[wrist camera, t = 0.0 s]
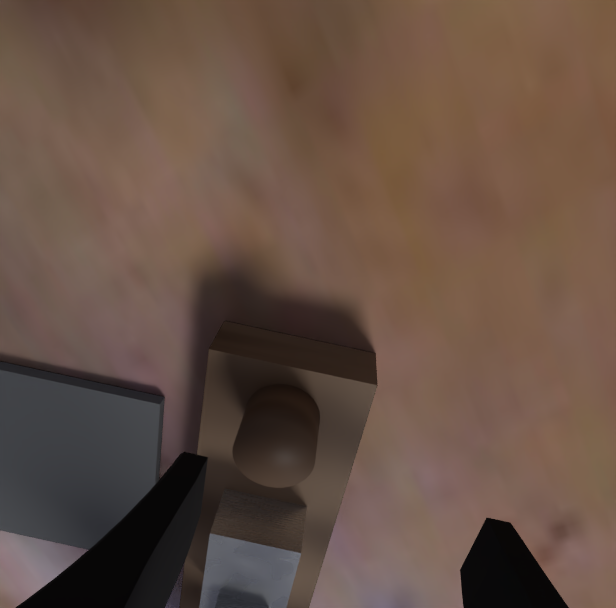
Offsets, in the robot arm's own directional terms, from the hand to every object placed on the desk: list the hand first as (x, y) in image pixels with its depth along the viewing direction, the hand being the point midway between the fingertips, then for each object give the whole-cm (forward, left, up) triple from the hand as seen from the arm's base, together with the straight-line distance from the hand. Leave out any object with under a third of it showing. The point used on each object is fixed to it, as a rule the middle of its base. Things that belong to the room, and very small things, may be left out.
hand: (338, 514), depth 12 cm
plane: (-11, +2, -10) cm, 15 cm away
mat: (-12, +14, -10) cm, 21 cm away
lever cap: (-12, +2, -8) cm, 14 cm away
